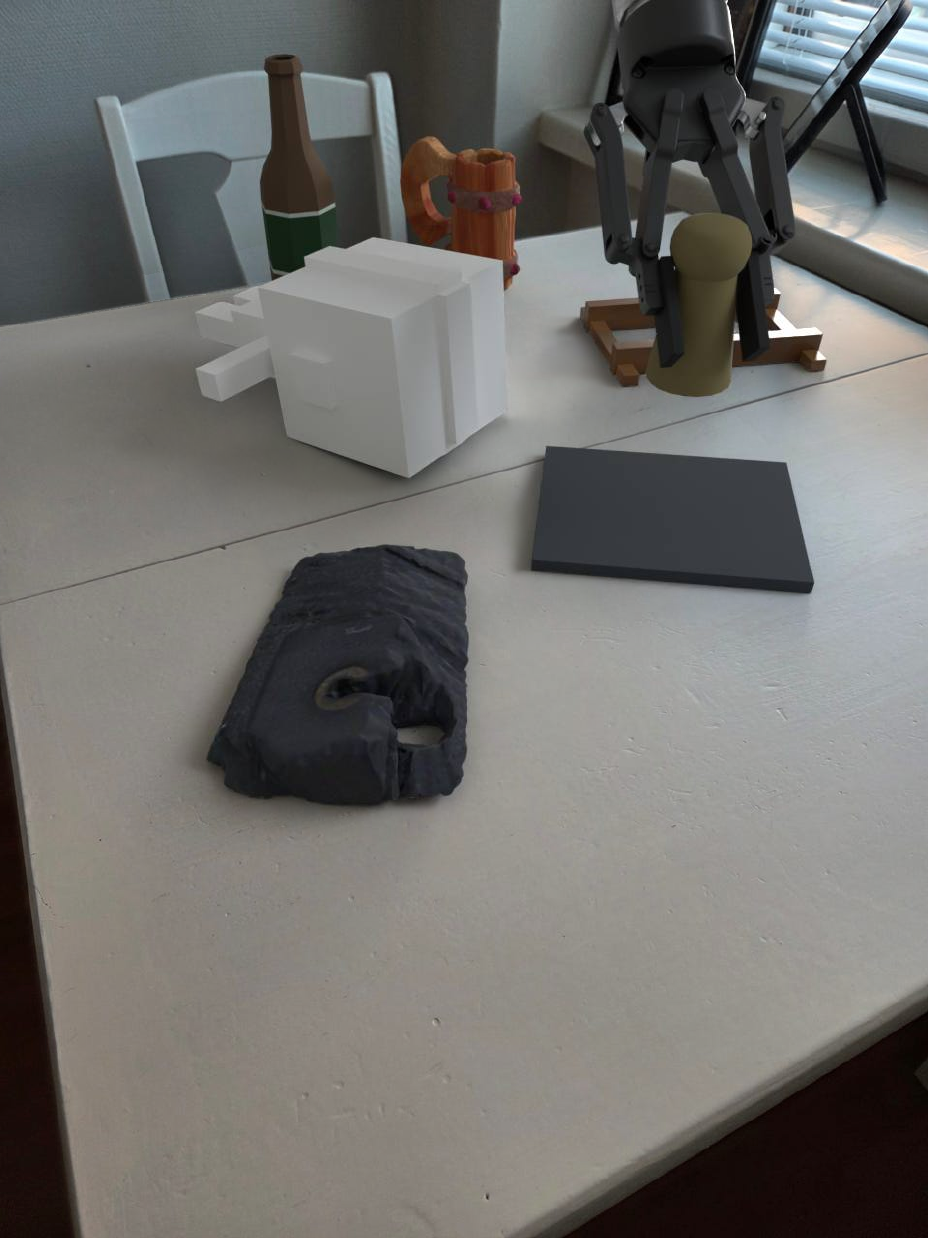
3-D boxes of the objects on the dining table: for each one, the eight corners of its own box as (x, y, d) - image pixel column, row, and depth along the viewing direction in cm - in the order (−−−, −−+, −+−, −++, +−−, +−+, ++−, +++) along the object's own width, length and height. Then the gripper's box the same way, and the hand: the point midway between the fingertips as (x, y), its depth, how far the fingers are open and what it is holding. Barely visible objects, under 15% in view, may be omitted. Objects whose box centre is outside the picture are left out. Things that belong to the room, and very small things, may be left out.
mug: (534, 284, 109) (541, 143, 99) (500, 310, 104) (504, 163, 94) (427, 260, 115) (423, 124, 105) (389, 283, 110) (382, 142, 100)
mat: (783, 472, 80) (786, 462, 79) (811, 593, 68) (814, 582, 67) (545, 455, 81) (546, 445, 81) (531, 570, 70) (531, 559, 69)
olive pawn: (692, 405, 65) (721, 242, 57) (627, 373, 68) (647, 215, 61) (748, 379, 68) (783, 220, 60) (683, 349, 71) (709, 196, 64)
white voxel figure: (330, 339, 102) (548, 396, 89) (145, 433, 88) (373, 520, 74) (307, 194, 93) (547, 232, 79) (97, 272, 78) (346, 336, 64)
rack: (577, 317, 103) (579, 292, 101) (761, 304, 105) (766, 279, 103) (620, 387, 91) (623, 359, 89) (826, 370, 93) (833, 343, 92)
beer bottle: (319, 284, 109) (295, 44, 93) (358, 306, 105) (340, 58, 89) (260, 302, 105) (225, 55, 89) (298, 325, 101) (267, 69, 85)
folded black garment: (498, 576, 69) (499, 522, 66) (457, 822, 53) (457, 766, 49) (292, 559, 70) (285, 506, 67) (191, 793, 54) (174, 737, 51)
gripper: (773, 54, 69) (815, 366, 68) (529, 62, 67) (568, 385, 65) (824, -22, 62) (873, 327, 60) (552, -16, 59) (596, 347, 58)
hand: (714, 356), depth 63 cm, fingers closed on olive pawn, 5 cm apart
